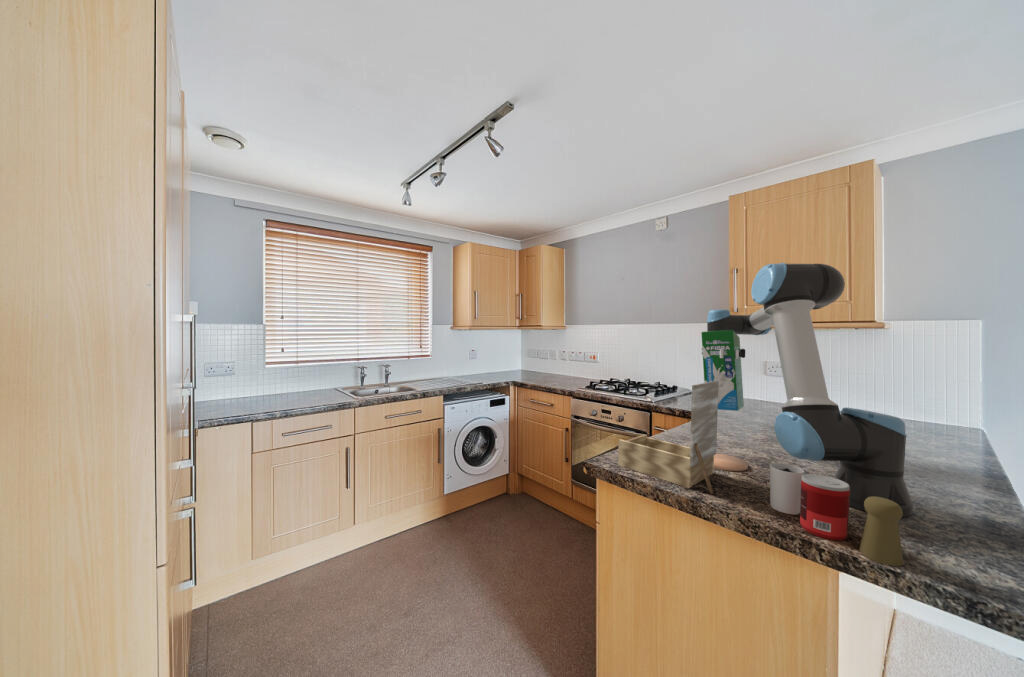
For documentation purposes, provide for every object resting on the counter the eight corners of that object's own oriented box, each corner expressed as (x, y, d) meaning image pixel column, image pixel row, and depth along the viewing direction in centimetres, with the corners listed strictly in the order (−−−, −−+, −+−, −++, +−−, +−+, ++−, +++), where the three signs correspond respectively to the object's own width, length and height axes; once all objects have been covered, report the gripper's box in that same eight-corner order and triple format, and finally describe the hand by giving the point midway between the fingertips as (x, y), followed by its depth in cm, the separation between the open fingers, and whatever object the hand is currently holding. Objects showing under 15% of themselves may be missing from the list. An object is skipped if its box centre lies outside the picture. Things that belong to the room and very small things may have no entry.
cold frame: (734, 479, 107) (737, 382, 106) (711, 496, 96) (715, 388, 95) (645, 454, 128) (647, 373, 127) (618, 465, 116) (620, 376, 116)
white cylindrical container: (763, 500, 93) (764, 461, 93) (793, 503, 92) (794, 464, 92) (776, 513, 87) (778, 471, 86) (808, 516, 85) (810, 474, 85)
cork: (852, 551, 72) (854, 495, 72) (869, 544, 75) (871, 490, 74) (894, 569, 67) (896, 509, 66) (910, 561, 69) (913, 503, 69)
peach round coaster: (753, 464, 119) (753, 461, 119) (739, 474, 110) (739, 470, 110) (710, 454, 129) (710, 450, 129) (694, 462, 120) (694, 458, 120)
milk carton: (743, 406, 120) (739, 330, 121) (737, 410, 113) (732, 329, 114) (713, 404, 126) (708, 331, 127) (705, 408, 119) (701, 331, 120)
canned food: (858, 542, 75) (860, 488, 75) (818, 540, 76) (820, 487, 75) (827, 522, 83) (828, 474, 83) (791, 521, 83) (792, 473, 83)
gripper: (746, 362, 132) (760, 367, 111) (694, 360, 139) (699, 364, 117) (746, 341, 132) (761, 342, 110) (695, 340, 139) (700, 341, 117)
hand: (729, 354), depth 114 cm, fingers open, 3 cm apart
